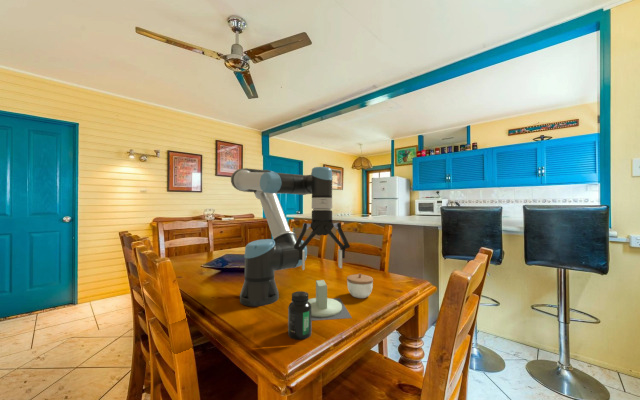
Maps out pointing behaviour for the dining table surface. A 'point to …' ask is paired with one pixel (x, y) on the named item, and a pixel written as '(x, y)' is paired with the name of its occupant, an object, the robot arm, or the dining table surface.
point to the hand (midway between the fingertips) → (322, 268)
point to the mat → (341, 315)
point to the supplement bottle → (299, 316)
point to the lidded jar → (360, 285)
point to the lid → (324, 302)
